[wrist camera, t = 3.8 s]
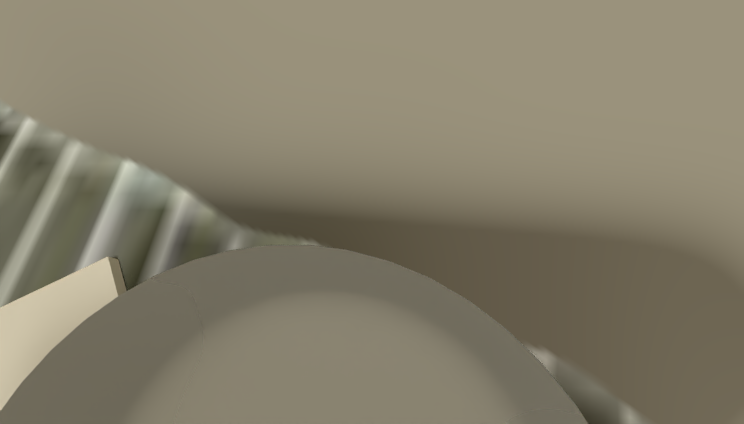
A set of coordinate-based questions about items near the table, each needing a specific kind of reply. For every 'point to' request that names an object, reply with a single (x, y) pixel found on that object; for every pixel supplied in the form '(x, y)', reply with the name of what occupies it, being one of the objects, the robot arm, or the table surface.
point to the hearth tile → (51, 318)
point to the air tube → (290, 351)
